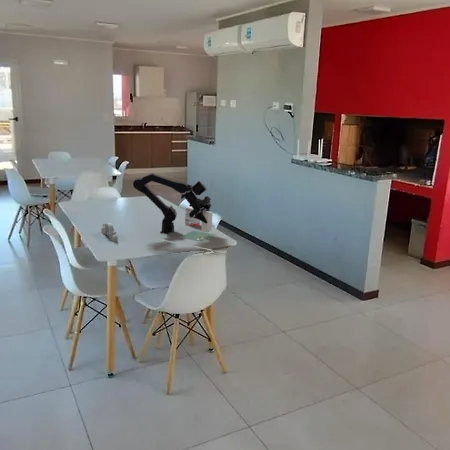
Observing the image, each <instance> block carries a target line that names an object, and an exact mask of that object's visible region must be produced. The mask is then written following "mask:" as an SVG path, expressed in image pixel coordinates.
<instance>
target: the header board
mask: <svg viewBox="0 0 450 450" xmlns="http://www.w3.org/2000/svg"><path fill="white" fill-rule="evenodd" d="M214 236H216V234H213V233H208V232H202V231H198V230H192V231H190V232H187V233H185V234H184V235H183V234H182V236H179V238H180V239H187V240H192V241H197V242H200V243H201V242H202V243H204V242H206V241H207V240H209V239H211V238H213V237H214Z"/></svg>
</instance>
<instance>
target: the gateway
mask: <svg viewBox="0 0 450 450" xmlns="http://www.w3.org/2000/svg"><path fill="white" fill-rule="evenodd" d="M101 226H102V227H101V231H100V232H101V233H102V234H103V235H105V236H107V237H108V238H109V239H110V240H111V241H112V242H113V241H114V242H118V240H119V239H118V238H119V237H118V235H116V234H117V231H116V230H115V228H114V225H113V223H111V222H108V223H101Z"/></svg>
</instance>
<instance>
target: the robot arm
mask: <svg viewBox="0 0 450 450" xmlns="http://www.w3.org/2000/svg"><path fill="white" fill-rule="evenodd" d="M150 182H154V183H157V184H160V185H163V186H166V187H169V188H171V189H173V190H174V191H176V192H178V193H179V194H181V197H180V198H181V199H180V200H184V199H185V200H186V201H187V203H189V205H188V207H192V208H193V210H192V211H191V212H190V213H189V216H190V217H191V218H192V217H194V215H195V217H194V218H196V219H199V220H200V222H201V223H202V222H204V223H207V220H206V219H205V217H204V215H203V212H206V211H209V212H210V209H211V207H212V204H211V198H210V197H209V196H208V195H206V196H204V198H203V199H201V198H199V197H197V196H200V195H202V194H203V193H204V192H206V191H207V190H208V189H207V187H206V186H205V184H203V182H201V181H200V180H198V181H197V182H196V183H195V184H193V185H191V184H187V182H185V181H180V180H172V179H170V178H167V177H164V176H161V175H159V174H155V173H154V172H151V173H149V174H148V175H145V176H143V177H137V178H136V179H134V181H133V182H132V185H133V188H134V189H136V190H137V191H138V192H140V193H142V194H143V195H145V196H146V197H147V198H148V199H149V201H151V202H152V204H154V205H155V207H157V208H158V209H159V210H160V211H161V213H162V214H163V218H162V221H161V231H160V234H164V235H168V234H171V233H175V225H174V224H175V223H174V221H176V219H177V215H178V213H177V211H176V209H175V208H174V207H173V206H172V205H170V206H169V205H166V203H165V202H163V200H162V199H161V198H160V197H158V195H156V193H154V191H153V190H152V189H151V188H150V187H149V185H148V184H149V183H150Z"/></svg>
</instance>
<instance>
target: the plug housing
mask: <svg viewBox="0 0 450 450" xmlns="http://www.w3.org/2000/svg"><path fill="white" fill-rule="evenodd" d="M203 215H204V217H205V219H206V220H207V223H204V222H202V221H201V231H200V232H204V233H208V232H211V231H213V230H212V229H213V227H212V226H213V211H210V210H209V211H206V212H203Z"/></svg>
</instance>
